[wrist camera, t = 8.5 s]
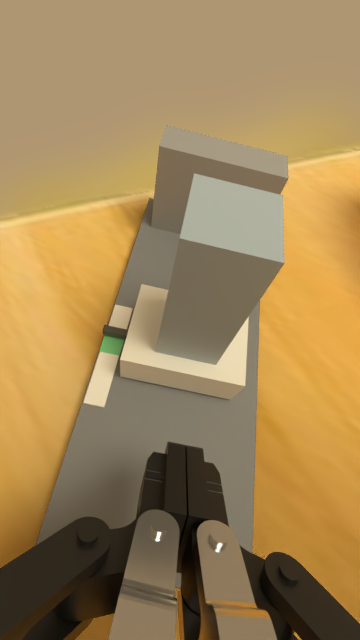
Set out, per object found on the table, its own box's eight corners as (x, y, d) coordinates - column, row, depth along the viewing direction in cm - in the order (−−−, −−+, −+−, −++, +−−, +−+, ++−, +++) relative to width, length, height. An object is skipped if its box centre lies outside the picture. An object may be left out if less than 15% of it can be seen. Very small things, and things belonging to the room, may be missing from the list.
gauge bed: (256, 236, 34) (298, 152, 26) (241, 594, 18) (335, 664, 10) (148, 210, 33) (156, 115, 25) (36, 557, 18) (-36, 602, 10)
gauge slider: (241, 255, 30) (313, 107, 19) (231, 399, 22) (338, 296, 11) (137, 231, 29) (147, 63, 18) (91, 370, 22) (60, 232, 11)
